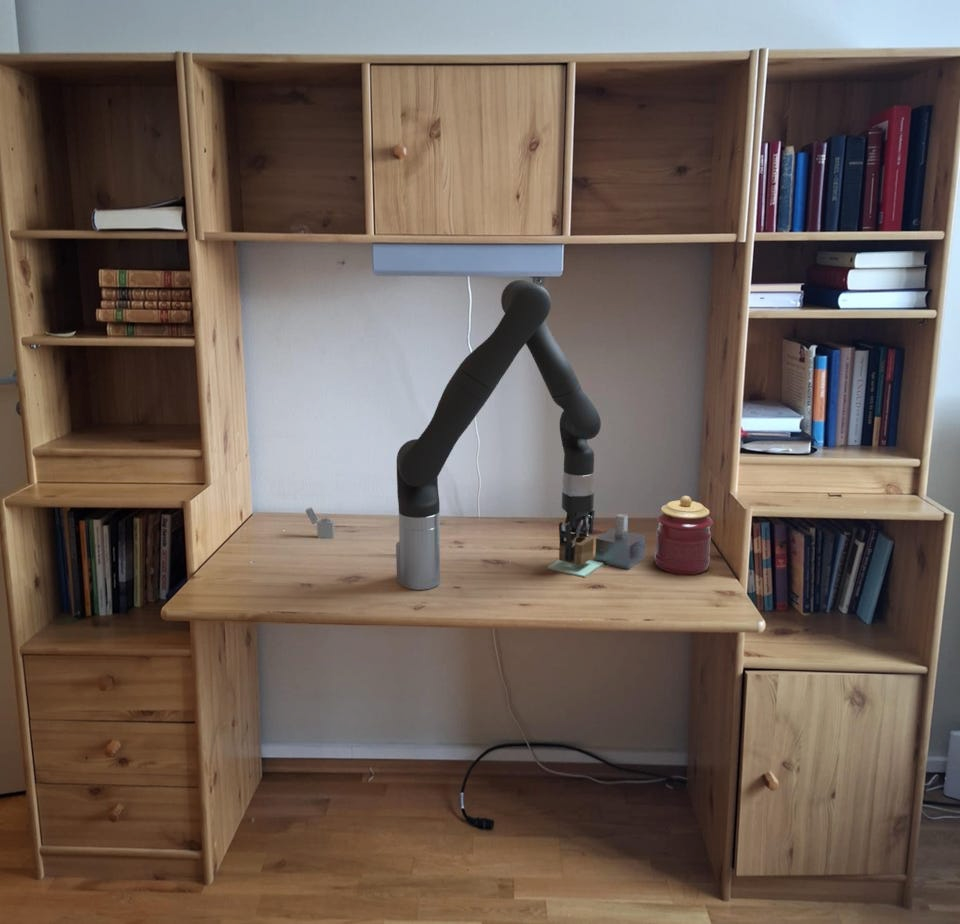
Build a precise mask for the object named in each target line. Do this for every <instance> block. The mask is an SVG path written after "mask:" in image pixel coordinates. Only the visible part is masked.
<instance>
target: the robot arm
mask: <svg viewBox="0 0 960 924" xmlns="http://www.w3.org/2000/svg"><path fill="white" fill-rule="evenodd" d="M500 303H501V304H500V305H501V308H502V311H503V312H504V315H503V316H502V318H501V320H500V321H499V323H498V324H497V326H496V328H495V329H494V330H493V332H492V333H491V334H490V335H489V336H488V337H487V338H486V339H485V340H484V341H483V342H482V343H481V344H480V345H478V346H477V347H476V348H475V349H474V350H472V351H471V352H470V353H469V354H468V355H467V356H466V357H465V358H464V359H463V361H462V362H461V363H460V364H459V365H458V367H457V369H456V370H455V372H454V373H453V375H452V376H451V377H450V379H449V381H448V383H447V384H446V386H445V388H444V390H443V392H442V394H441V397H440V399H439V400H438V403H437V405H436V408H435V411H434V414H433V415H432V417H431V419H430V422H429V424H428V425H427V427H426V428H425V429H424V431H423V432H422V433H421V434H420V436H419V437H418V438H415V439H411V440H408V441H405V442H404V443H403V444H402V445H401V446H400V448H399V449H398V452H397V455H396V483H397V484H396V485H397V486H396V489H397V492H396V493H397V501H398V502H397V503H398V529H399V530H398V535H399V537H398V539H399V540H398V541H397V542H396V543H395V556H396V557H395V558H396V562H395V563H396V565H395V566H396V583H398V584H400V585H401V586H402V587H404V588H406V589H409V590H417V591H418V590H419V591H420V590H421V591H422V590H429V589H430V590H431V589H433V588H436V587H438V586H439V585H440V584H441V537H440V536H441V528H440V519H441V518H440V511H441V509H440V507H441V506H440V496H439V484H438V477H439V475H440V474H441V471H442V470H443V467H444V465H445V464H446V462H447V460H448V458H449V456H450V454H451V452H452V451H453V449H454V447H455V446H456V444H457V442H458V440H459V439H460V438H461V436H462V435H463V433H465V431H466V430H467V429H468V427H469V426H470V425H471V423H472V422H473V420H474V419H475V418H476V417H477V415H478V413H479V412H480V411H481V409H482V408H483V407H484V405H485V404H486V402H487V401H488V400H489V398H490V397H491V395H492V394H493V392H494V391H495V389H496V388H497V386H498V385H499V383H500V381H501V380H502V378H503V377H504V375H506V373H507V371H508V370H509V368H510V367H511V365H512V363H513V361H514V360H515V358H516V357H517V355H518V354H519V352H520V351H521V350H522V349H523V347H525V345H526V347H527V348H528V350H529V352H530V354H531V356H532V358H533V360H534V363H535V364H536V366H537V368H538V371H539V373H540V375H541V378H542V380H543V382H544V383H545V386H546V388H547V390H548V392H549V394H550V396H551V398H552V400H553V401H554V403H555V405H557V406H558V407H560V408H561V409H562V410H563V411H562V412H561V415H560V419H559V433H560V438H561V445H562V449H563V453H564V454H563V455H564V457H563V475H562V479H561V480H562V481H561V483H562V484H561V508H562V510H563V511H565V512H566V517H565V521H564V522H561V521H560V522H559V523H558V532H559V533H558V535H559V536H558V537H559V545H561V546H565V560H566V561H569V562H573V561H574V551H575V547H574V546H575V542H576V539H577V538H578V537H579V535H581V536H585V537H590V535H592V534H593V531H594V523H595V522H594V521H595V514H596V513H595V510H594V503H595V502H594V501H595V469H594V468H595V453H594V451H593V449H592V447H590V446H589V442H588V440H592V439H593V438H595V437H596V436H597V435H598V434H599V433H600V431H601V427H602V420H601V417H600V414H599V412H598V410H597V408H596V407H595V405H594V404H593V402H592V401H591V399H590V398H589V397H588V395H587V394H586V393H585V391H584V390H583V388H582V386H581V384H580V382H579V380H578V377H577V375H576V373H575V371H574V368H573V367H572V364H571V363H570V361H569V359H568V357H567V356H566V354H565V353H564V351H563V350H562V348H561V347H560V345H559V344H558V342H557V340H556V339H555V338H554V336H553V334H552V332H551V330H550V328H549V326H548V324H547V322H546V319H547V317H548V316H549V314H550V311H551V308H552V307H551V306H552V298H551V295H550V294H549V292H548V290H547V289H546V288H545V287H543V286H542V285H539V284H537V283H535V282H532V281H530V280H526V279H517V280H513V281H511V282H509V283H508V284H507V285H506V286H505V287H504V289H503V290H502V293H501V299H500ZM571 537H572V541H571ZM564 538H565V539H564Z"/></svg>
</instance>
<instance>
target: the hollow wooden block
mask: <svg viewBox="0 0 960 924" xmlns="http://www.w3.org/2000/svg"><path fill="white" fill-rule="evenodd" d="M564 539H565V538H564ZM571 541H572V537H571ZM594 541H595V540H594V538H593V537H590V536H589V537H585V536H581V535H579V537H578V538H577V539H576V542H575V546H574V547H575V551H574V561H573V562H569V561H566V560H565V546H561V545H560V544H559V551H558V560H561V561H565V562H569V563H574V564H578V565H583V564H584V563H586V562H587V561H589V560H593V558H594Z"/></svg>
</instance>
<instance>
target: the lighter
mask: <svg viewBox="0 0 960 924" xmlns="http://www.w3.org/2000/svg"><path fill="white" fill-rule="evenodd" d="M305 514H306V515H307V517H308V518H309V520H310V522H311V524H312V525H315V524H316V527H317V539H334V538H335V521H334V520H331V518H329V517H321V520H319V518H318V517H317V514H316V513H315V511H314V510H313V508H312V507H311V506H310V507H309V508H306V509H305Z"/></svg>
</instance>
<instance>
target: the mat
mask: <svg viewBox="0 0 960 924" xmlns="http://www.w3.org/2000/svg"><path fill="white" fill-rule="evenodd" d="M604 565H605V564H604V563H602V562H597V561H595V560H593V559H590V560H589V561H587V562H586V563H584V564H583V565H578V564H574V563H569V562H565V561H561V560H559V559H558V560H557V561H555V562H553V563H552V564H550V565H548V566H547V570H553V571H556V572H560V573H565V574H569V575H573V576H577V577H581V578H586V577H588V576H589V575H591V574H592V573H594V572H595V571H596V570H597V569H599V568H601V567H602V566H604Z"/></svg>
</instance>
